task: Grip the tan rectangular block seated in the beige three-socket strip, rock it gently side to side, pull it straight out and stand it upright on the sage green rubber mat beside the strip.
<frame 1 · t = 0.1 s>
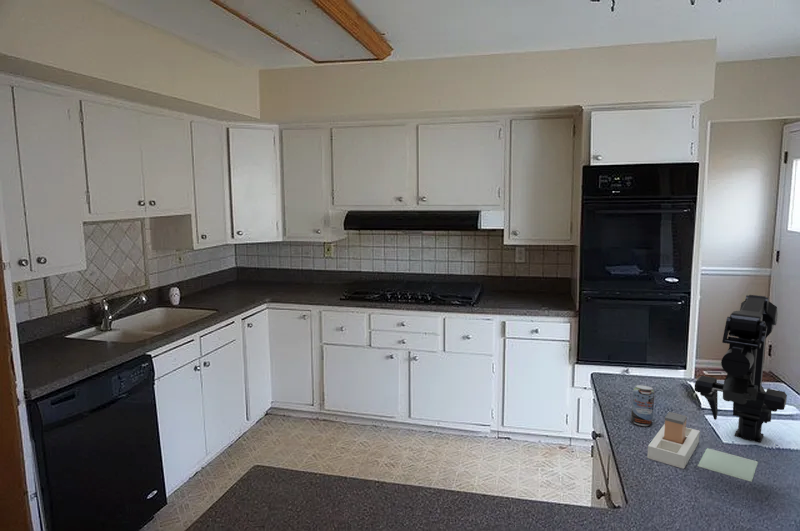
hand: (736, 424, 134), 15 cm above the counter, fingers open, 9 cm apart
tan rectangular block: (673, 449, 150), resting on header
mat: (727, 465, 142), on the counter
beverage can: (641, 424, 167), on the counter
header: (673, 451, 150), on the counter
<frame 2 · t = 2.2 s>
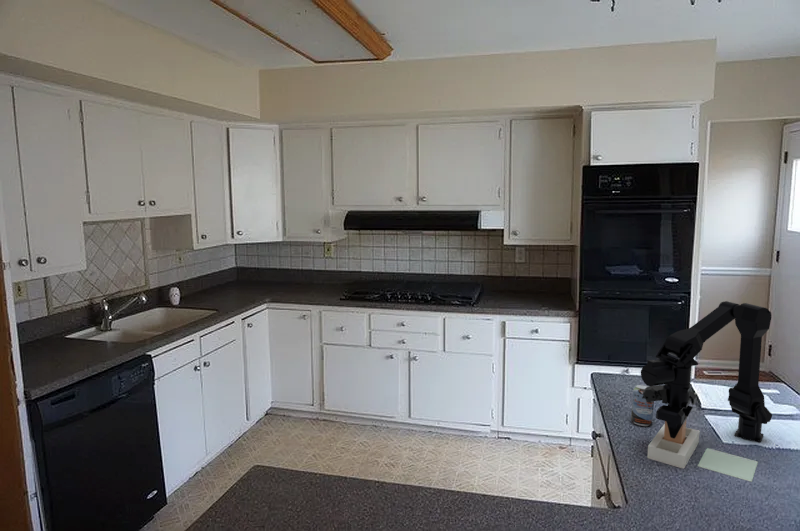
hand: (674, 434, 149), 5 cm above the counter, fingers closed on tan rectangular block, 4 cm apart
tan rectangular block: (673, 449, 150), point 1 cm above the counter, touching gripper, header
everything else where it was.
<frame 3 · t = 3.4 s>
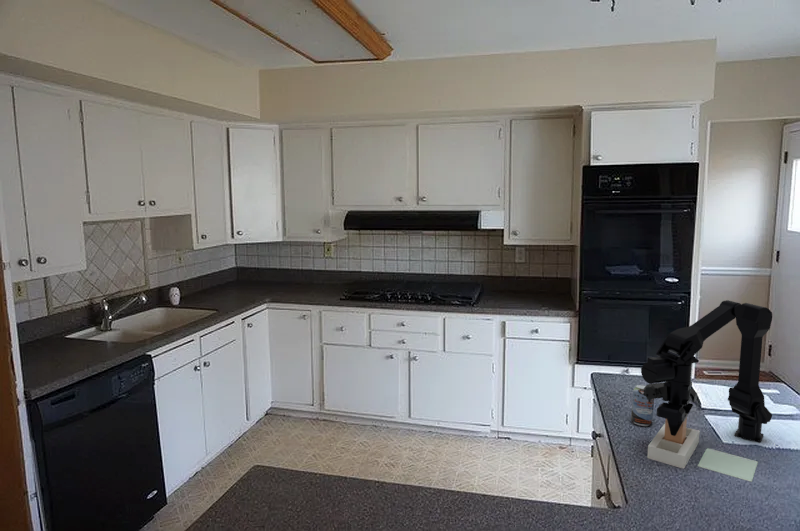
hand: (675, 432, 149), 6 cm above the counter, fingers closed on tan rectangular block, 4 cm apart
tan rectangular block: (674, 447, 150), point 1 cm above the counter, touching gripper
everything else where it was.
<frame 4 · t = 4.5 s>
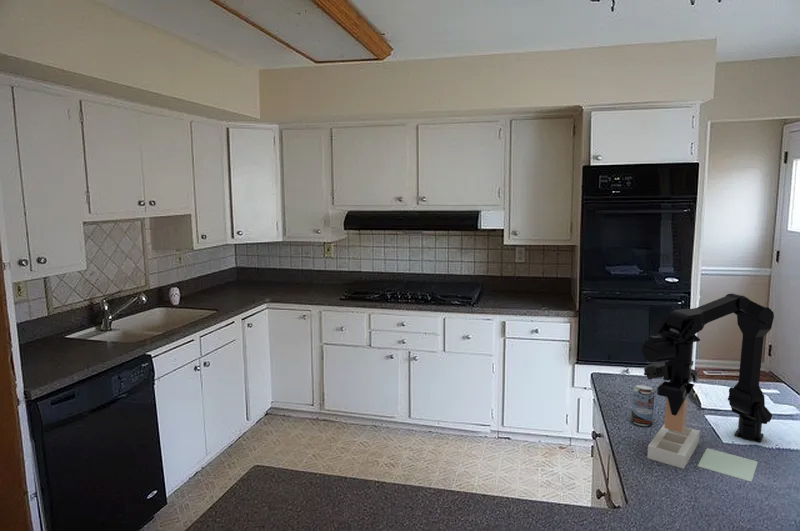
hand: (676, 411, 148), 12 cm above the counter, fingers closed on tan rectangular block, 4 cm apart
tan rectangular block: (675, 427, 149), point 7 cm above the counter, touching gripper
everything else where it was.
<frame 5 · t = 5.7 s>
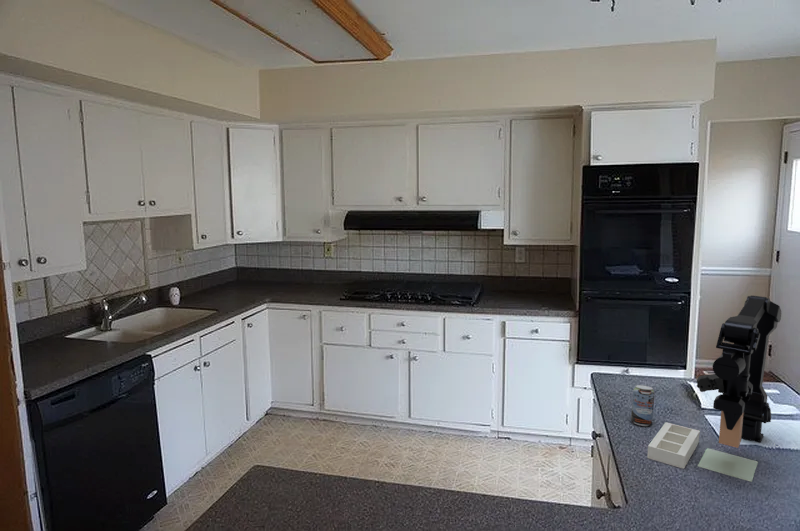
hand: (731, 426, 140), 11 cm above the counter, fingers closed on tan rectangular block, 4 cm apart
tan rectangular block: (729, 442, 141), point 7 cm above the counter, touching gripper
everything else where it was.
when the fingers open (6 cm above the counter, at t = 6.8 s): tan rectangular block drops 1 cm, resting on mat.
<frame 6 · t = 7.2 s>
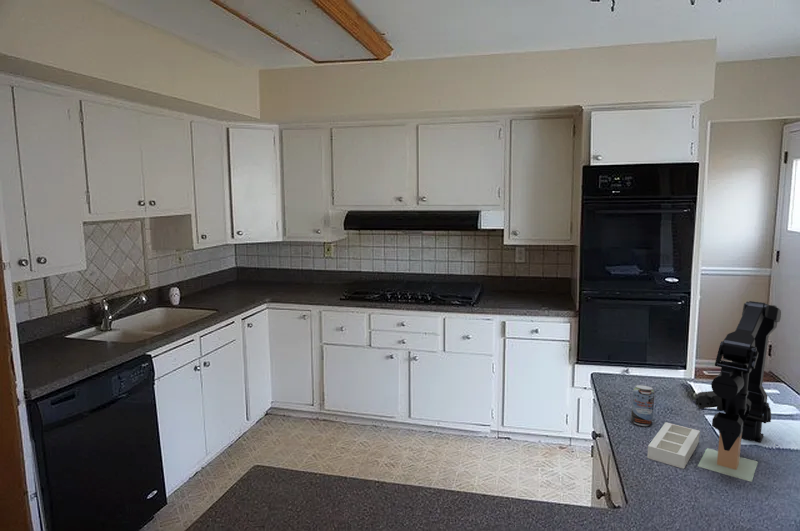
hand: (729, 443, 141), 6 cm above the counter, fingers open, 9 cm apart
tan rectangular block: (728, 463, 142), point 1 cm above the counter, touching mat
everything else where it was.
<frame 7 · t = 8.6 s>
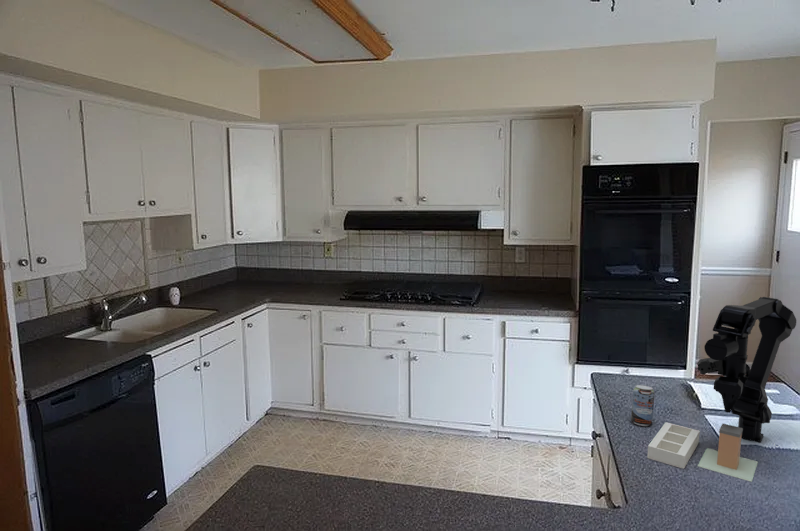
hand: (730, 406, 148), 13 cm above the counter, fingers open, 9 cm apart
nothing on the counter moved.
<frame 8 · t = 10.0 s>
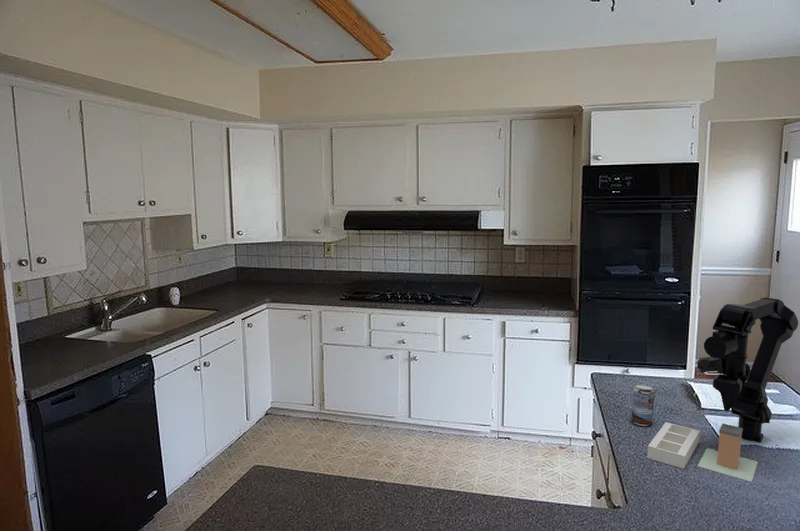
hand: (729, 405, 149), 13 cm above the counter, fingers open, 9 cm apart
nothing on the counter moved.
at the end: tan rectangular block inside the target area on the mat (0.1 cm from its centre), point 0.6 cm above the mat's base; tan rectangular block tilted 0°; the gripper is holding nothing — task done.
